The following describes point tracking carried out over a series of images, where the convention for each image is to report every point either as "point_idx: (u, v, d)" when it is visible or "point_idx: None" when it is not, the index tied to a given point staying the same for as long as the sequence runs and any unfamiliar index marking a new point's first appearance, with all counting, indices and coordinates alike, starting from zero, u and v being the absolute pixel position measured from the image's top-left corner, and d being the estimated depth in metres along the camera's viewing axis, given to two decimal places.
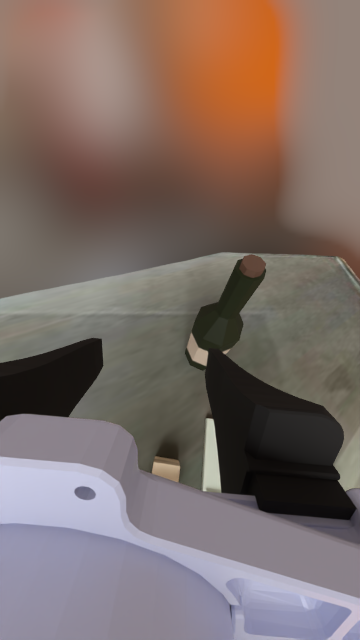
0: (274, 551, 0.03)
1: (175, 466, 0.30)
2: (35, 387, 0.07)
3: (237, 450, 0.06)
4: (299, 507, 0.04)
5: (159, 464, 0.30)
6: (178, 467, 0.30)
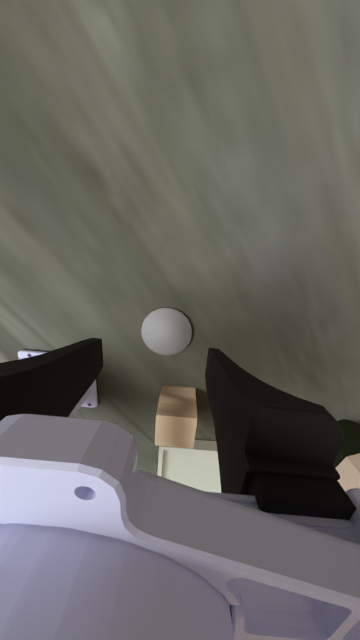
0: (274, 551, 0.03)
1: (192, 443, 0.20)
2: (35, 387, 0.07)
3: (237, 450, 0.06)
4: (299, 507, 0.04)
5: (194, 425, 0.20)
6: (191, 446, 0.21)
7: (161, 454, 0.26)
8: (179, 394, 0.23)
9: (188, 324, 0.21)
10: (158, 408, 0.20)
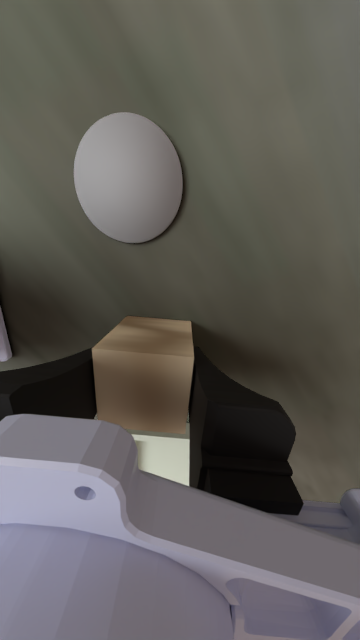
0: (274, 551, 0.03)
1: (184, 422, 0.09)
2: (69, 389, 0.07)
3: (197, 447, 0.06)
4: (247, 503, 0.04)
5: (187, 377, 0.08)
6: (181, 430, 0.09)
7: None
8: (158, 326, 0.11)
9: (175, 159, 0.09)
10: (103, 340, 0.09)
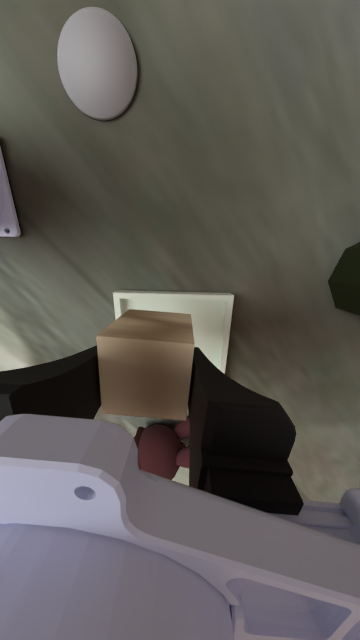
0: (274, 551, 0.03)
1: (185, 408, 0.09)
2: (68, 389, 0.07)
3: (197, 447, 0.06)
4: (247, 503, 0.04)
5: (188, 363, 0.08)
6: (182, 416, 0.09)
7: (118, 307, 0.18)
8: (159, 317, 0.11)
9: (128, 42, 0.13)
10: (107, 329, 0.09)
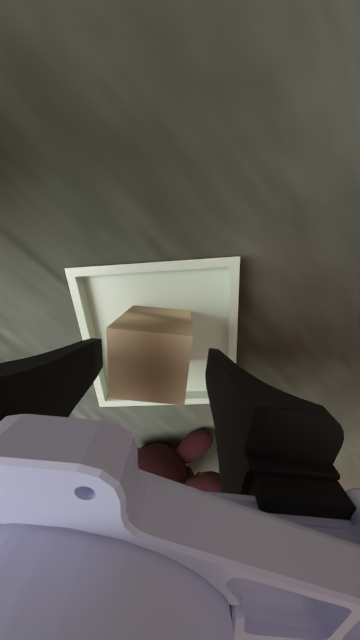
0: (274, 551, 0.03)
1: (183, 394, 0.10)
2: (35, 387, 0.07)
3: (237, 450, 0.06)
4: (299, 507, 0.04)
5: (187, 353, 0.09)
6: (181, 401, 0.10)
7: (75, 290, 0.13)
8: (161, 313, 0.12)
9: None
10: (115, 322, 0.10)
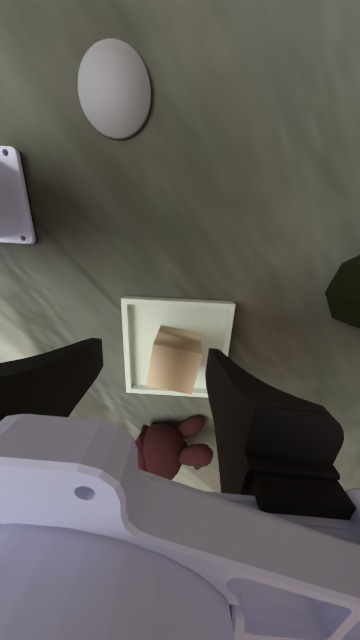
0: (274, 551, 0.03)
1: (192, 387, 0.17)
2: (35, 386, 0.07)
3: (237, 450, 0.06)
4: (299, 507, 0.04)
5: (198, 363, 0.16)
6: (190, 392, 0.17)
7: (125, 313, 0.19)
8: (181, 334, 0.19)
9: (144, 70, 0.14)
10: (156, 340, 0.17)
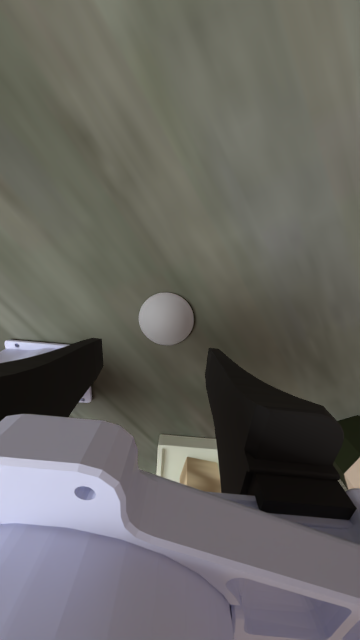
0: (274, 551, 0.03)
1: None
2: (35, 386, 0.07)
3: (237, 450, 0.06)
4: (299, 507, 0.04)
5: None
6: None
7: (160, 453, 0.24)
8: (204, 471, 0.24)
9: (190, 310, 0.19)
10: None
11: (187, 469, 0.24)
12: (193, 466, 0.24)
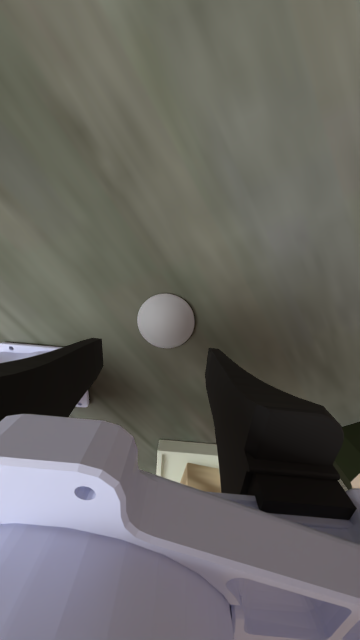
0: (274, 551, 0.03)
1: None
2: (35, 386, 0.07)
3: (237, 450, 0.06)
4: (299, 507, 0.04)
5: None
6: None
7: (160, 459, 0.23)
8: (205, 478, 0.23)
9: (190, 312, 0.18)
10: None
11: (187, 476, 0.23)
12: (194, 472, 0.24)
